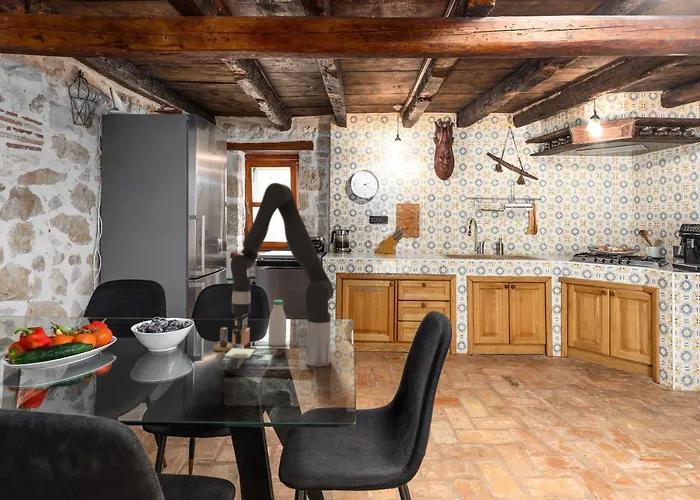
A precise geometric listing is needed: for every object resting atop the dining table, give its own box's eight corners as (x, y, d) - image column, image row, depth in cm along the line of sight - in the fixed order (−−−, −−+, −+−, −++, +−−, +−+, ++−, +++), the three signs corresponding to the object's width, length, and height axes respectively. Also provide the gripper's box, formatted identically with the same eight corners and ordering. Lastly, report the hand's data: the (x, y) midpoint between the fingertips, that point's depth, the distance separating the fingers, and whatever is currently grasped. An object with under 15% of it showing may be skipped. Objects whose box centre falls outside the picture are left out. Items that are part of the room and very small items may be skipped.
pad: (255, 351, 185) (255, 349, 185) (249, 358, 176) (249, 356, 175) (232, 350, 186) (232, 348, 186) (224, 357, 176) (224, 355, 176)
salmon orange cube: (249, 341, 183) (249, 327, 183) (245, 345, 177) (246, 330, 177) (236, 340, 183) (236, 326, 183) (232, 344, 178) (232, 329, 177)
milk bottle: (284, 346, 193) (285, 302, 192) (266, 346, 193) (267, 301, 192) (286, 342, 201) (288, 299, 200) (270, 341, 201) (271, 298, 200)
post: (235, 346, 191) (235, 326, 190) (229, 352, 183) (230, 331, 182) (217, 345, 191) (217, 325, 190) (211, 351, 183) (211, 330, 182)
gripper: (245, 305, 172) (244, 347, 173) (254, 298, 186) (253, 337, 187) (226, 304, 172) (225, 346, 173) (237, 298, 187) (236, 336, 188)
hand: (240, 341), depth 180 cm, fingers closed on salmon orange cube, 5 cm apart
